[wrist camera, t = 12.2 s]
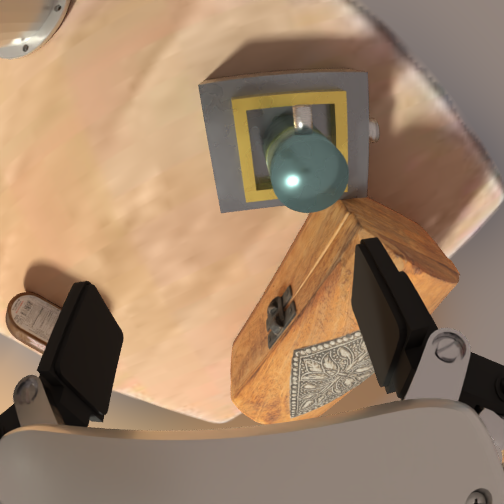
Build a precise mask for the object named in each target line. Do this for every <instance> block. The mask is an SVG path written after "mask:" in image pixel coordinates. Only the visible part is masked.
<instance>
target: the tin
mask: <svg viewBox="0 0 504 504" xmlns="http://www.w3.org/2000/svg"><path fill="white" fill-rule="evenodd" d="M61 310H62V308H60V307H58V306H57V305H55V304H53V303H51V302H50V301H48V300H46V299H45V298H43V297H41V296H39V295H37V294H35V293H30V292H24V293H20V294H17V295H16V296H15V297H13V298H12V299H11V301H10V302H9V304H8V307H7V313H6V324H7V327H8V329H9V331H10V333H11V334H12V335H13V336H14V337H15V338H16V339H18V340H19V341H21V342H23V343H24V344H26V345H28V346H29V347H31V348H33V349H35V350H36V351H38V352H40V353H42V354H43V353H44V350H45V348H46V345H47V343H48V340H49V338H50V335H51V333H52V330H53V328H54V326H55V323H56V321H57V319H58V316H59V314H60V312H61Z"/></svg>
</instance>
